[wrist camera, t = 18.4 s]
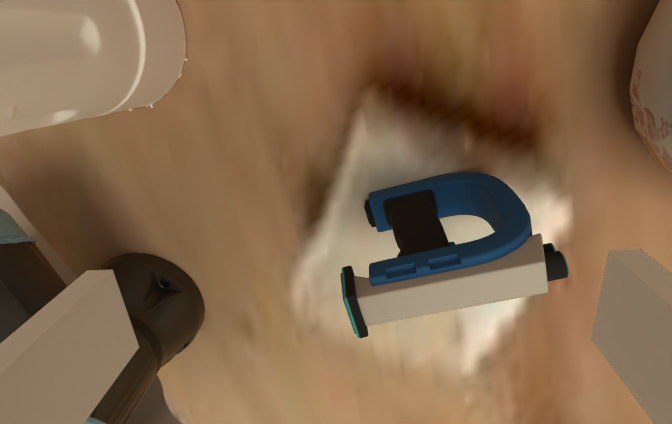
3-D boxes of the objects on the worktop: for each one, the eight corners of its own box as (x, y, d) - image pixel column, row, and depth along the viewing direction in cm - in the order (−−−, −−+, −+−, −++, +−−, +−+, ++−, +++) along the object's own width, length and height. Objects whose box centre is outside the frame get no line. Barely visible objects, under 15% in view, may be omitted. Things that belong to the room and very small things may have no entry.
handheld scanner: (346, 195, 47) (335, 298, 29) (488, 159, 44) (572, 249, 26) (356, 229, 49) (352, 346, 31) (494, 196, 46) (576, 305, 28)
